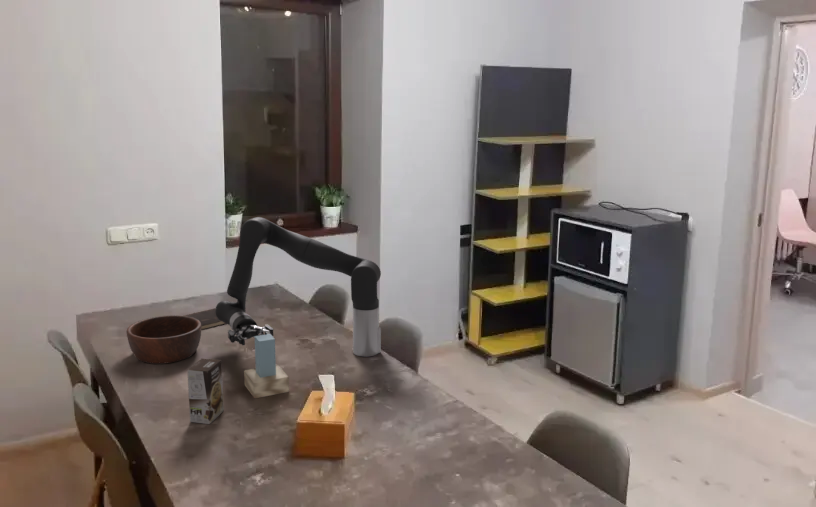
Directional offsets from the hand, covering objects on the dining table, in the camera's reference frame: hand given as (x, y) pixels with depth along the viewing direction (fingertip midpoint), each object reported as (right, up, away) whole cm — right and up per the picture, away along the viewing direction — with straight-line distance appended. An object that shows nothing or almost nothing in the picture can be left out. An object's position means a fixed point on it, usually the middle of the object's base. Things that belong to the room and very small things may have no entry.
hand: (256, 340), depth 228 cm
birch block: (+4, -15, -5) cm, 16 cm away
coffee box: (-9, -19, -24) cm, 32 cm away
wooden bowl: (-37, -8, +22) cm, 44 cm away
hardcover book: (-31, +1, +59) cm, 66 cm away
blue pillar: (+4, -10, -6) cm, 12 cm away
